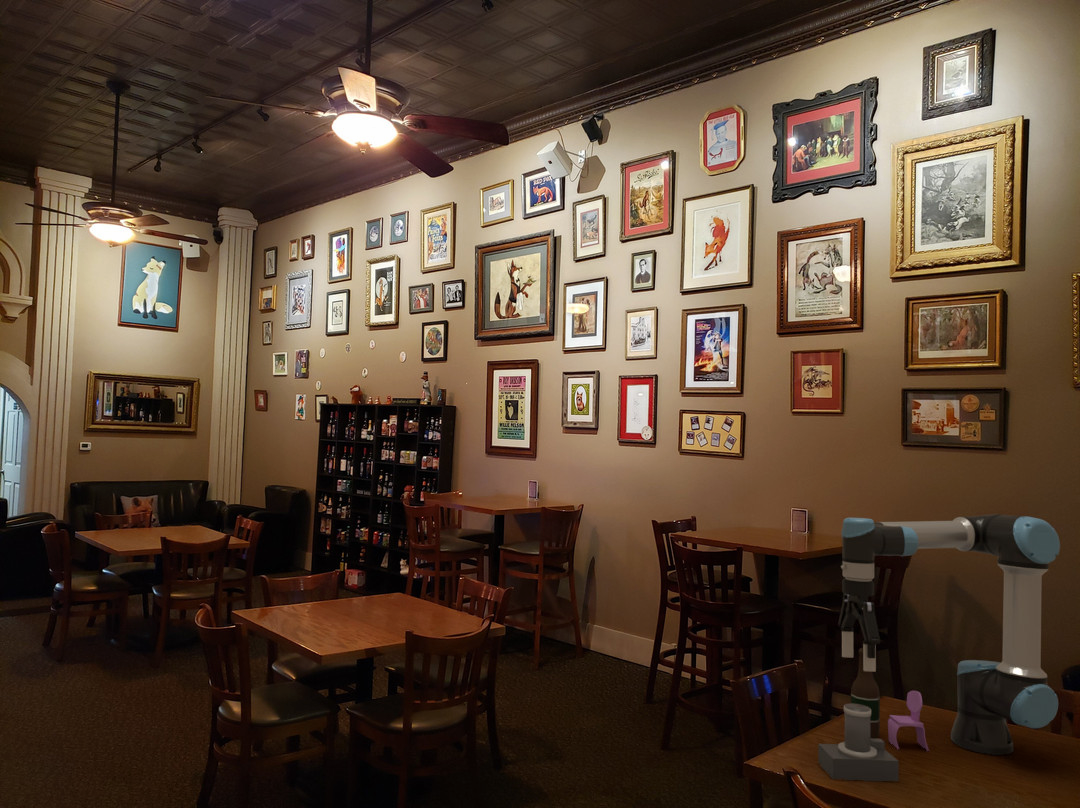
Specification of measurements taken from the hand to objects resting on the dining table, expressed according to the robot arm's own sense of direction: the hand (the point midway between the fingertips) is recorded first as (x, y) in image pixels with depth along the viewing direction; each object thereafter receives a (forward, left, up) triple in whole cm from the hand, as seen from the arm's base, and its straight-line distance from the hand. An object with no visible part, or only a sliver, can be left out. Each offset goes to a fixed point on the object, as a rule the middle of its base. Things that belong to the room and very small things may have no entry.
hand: (858, 664), depth 195 cm
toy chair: (-22, -20, -27) cm, 40 cm away
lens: (0, 0, -21) cm, 21 cm away
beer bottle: (-14, -29, -27) cm, 42 cm away
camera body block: (0, 0, -27) cm, 27 cm away
